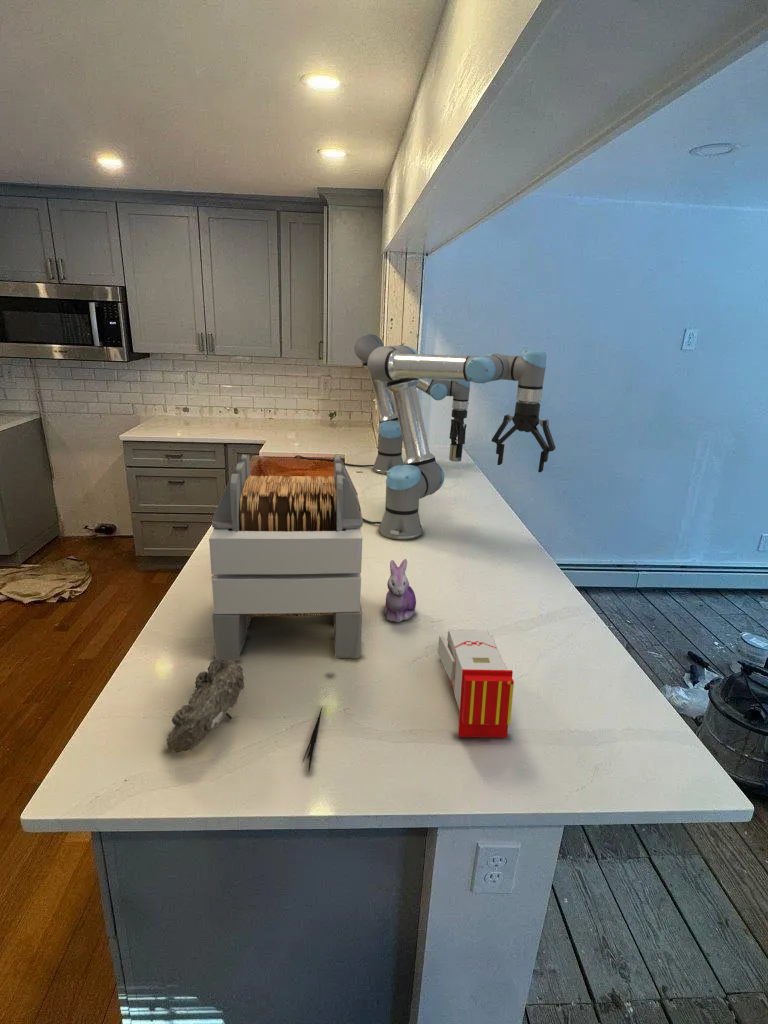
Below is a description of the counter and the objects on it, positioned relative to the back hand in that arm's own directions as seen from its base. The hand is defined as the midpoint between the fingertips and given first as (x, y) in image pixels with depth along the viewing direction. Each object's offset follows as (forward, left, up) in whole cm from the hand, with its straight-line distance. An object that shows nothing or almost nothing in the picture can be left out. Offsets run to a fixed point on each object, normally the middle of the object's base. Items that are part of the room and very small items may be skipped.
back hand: (455, 455), depth 283 cm
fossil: (+77, -184, -7) cm, 199 cm away
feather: (+91, -170, -7) cm, 193 cm away
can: (0, 0, -2) cm, 2 cm away
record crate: (+60, -151, -7) cm, 163 cm away
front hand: (+72, -67, +21) cm, 100 cm away
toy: (+107, -142, -7) cm, 178 cm away
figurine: (+76, -128, -7) cm, 149 cm away
